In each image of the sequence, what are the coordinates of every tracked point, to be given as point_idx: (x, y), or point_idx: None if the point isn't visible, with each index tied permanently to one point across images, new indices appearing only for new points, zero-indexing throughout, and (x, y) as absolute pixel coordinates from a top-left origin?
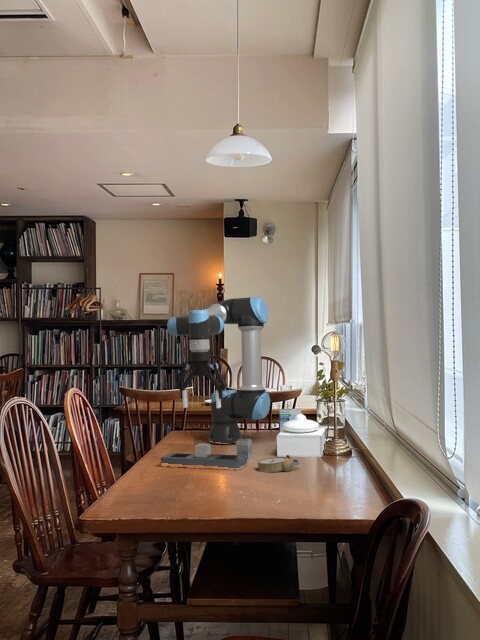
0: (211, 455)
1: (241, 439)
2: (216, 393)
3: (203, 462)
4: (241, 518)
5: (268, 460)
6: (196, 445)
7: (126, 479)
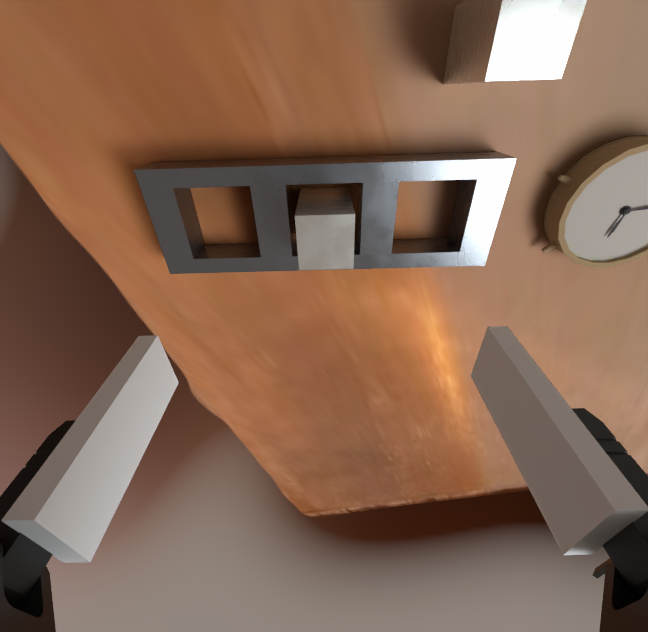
0: (346, 182)
1: (517, 21)
2: (549, 511)
3: None
4: (507, 490)
5: (607, 190)
6: (305, 267)
7: (204, 386)
